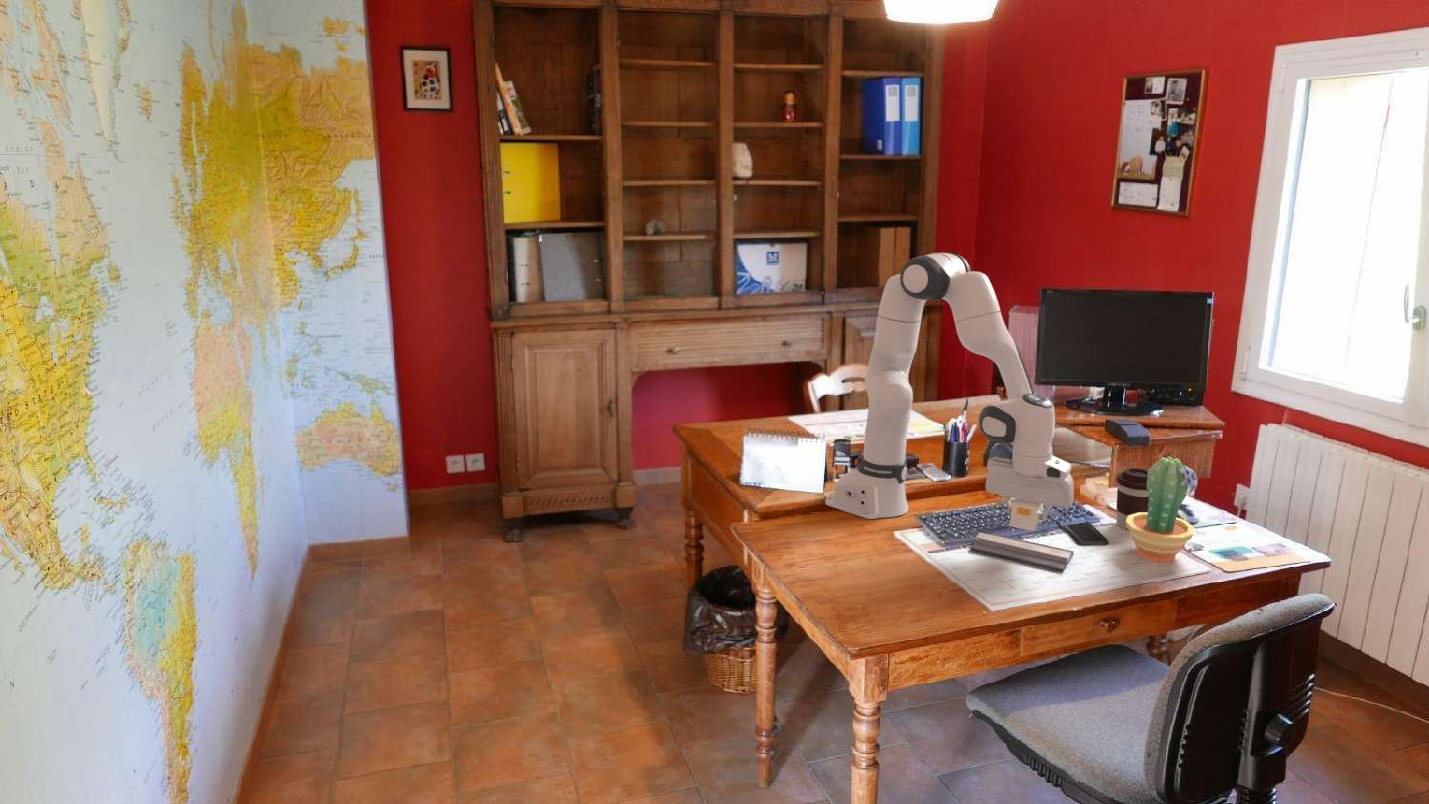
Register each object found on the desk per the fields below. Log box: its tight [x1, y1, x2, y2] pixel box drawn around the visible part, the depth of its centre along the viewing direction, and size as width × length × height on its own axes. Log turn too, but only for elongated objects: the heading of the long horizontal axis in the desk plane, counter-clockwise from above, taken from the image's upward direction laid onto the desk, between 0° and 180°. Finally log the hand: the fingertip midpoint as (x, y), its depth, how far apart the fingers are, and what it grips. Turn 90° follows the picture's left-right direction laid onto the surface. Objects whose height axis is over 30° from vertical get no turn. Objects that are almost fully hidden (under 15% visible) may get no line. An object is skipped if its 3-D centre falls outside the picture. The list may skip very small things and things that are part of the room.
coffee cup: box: [1116, 467, 1149, 531], centre depth 251 cm, size 10×10×15 cm
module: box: [1009, 498, 1044, 532], centre depth 235 cm, size 6×6×6 cm
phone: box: [1062, 519, 1110, 546], centre depth 249 cm, size 8×1×15 cm
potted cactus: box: [1126, 455, 1199, 564], centre depth 234 cm, size 15×15×25 cm
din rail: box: [970, 532, 1075, 574], centre depth 237 cm, size 22×11×2 cm, turn 59°
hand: (1026, 516), depth 235 cm, fingers closed on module, 6 cm apart
